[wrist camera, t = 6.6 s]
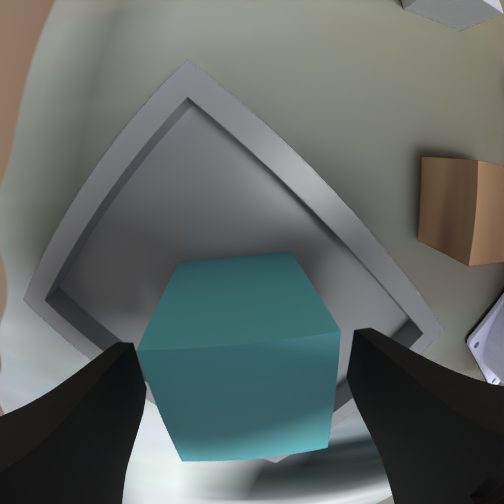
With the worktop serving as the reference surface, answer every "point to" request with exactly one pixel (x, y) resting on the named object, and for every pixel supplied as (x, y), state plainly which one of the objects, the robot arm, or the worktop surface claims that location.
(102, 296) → the grey tray
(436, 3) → the light grey block
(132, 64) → the worktop surface
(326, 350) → the teal block
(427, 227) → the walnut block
